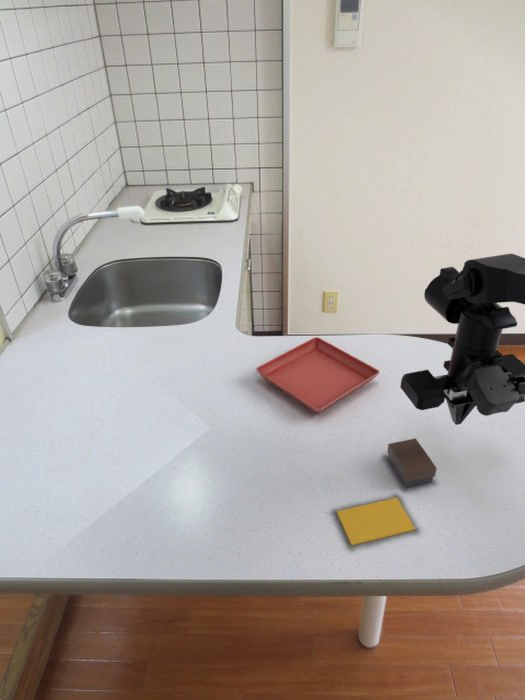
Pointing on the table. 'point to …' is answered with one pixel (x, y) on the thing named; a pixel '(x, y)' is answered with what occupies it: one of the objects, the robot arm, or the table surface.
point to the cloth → (375, 521)
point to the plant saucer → (317, 374)
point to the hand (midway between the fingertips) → (456, 422)
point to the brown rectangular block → (411, 463)
